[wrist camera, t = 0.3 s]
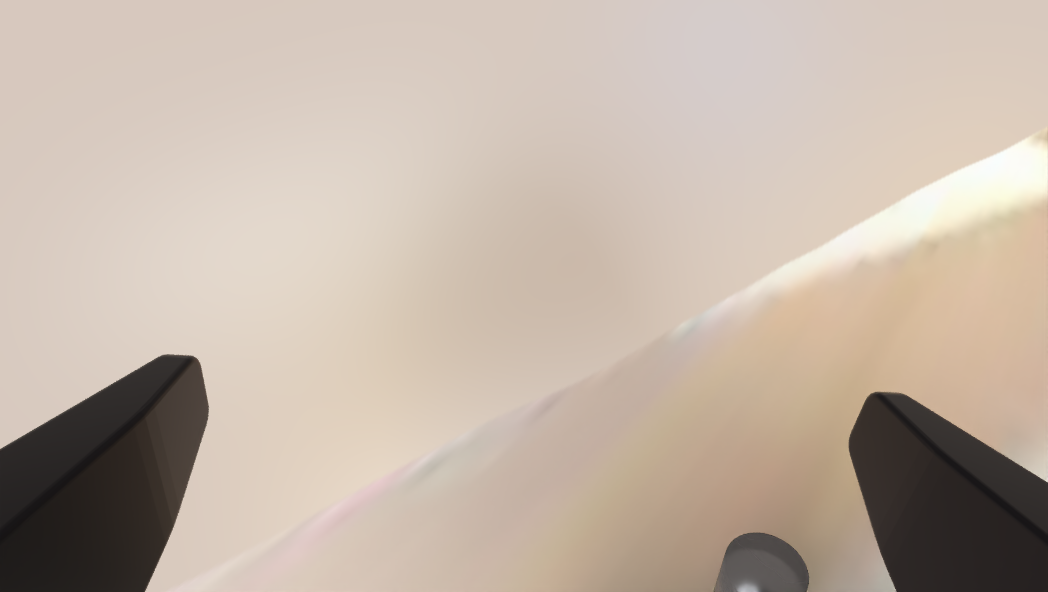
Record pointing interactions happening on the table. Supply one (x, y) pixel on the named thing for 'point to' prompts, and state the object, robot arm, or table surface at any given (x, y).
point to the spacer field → (761, 566)
